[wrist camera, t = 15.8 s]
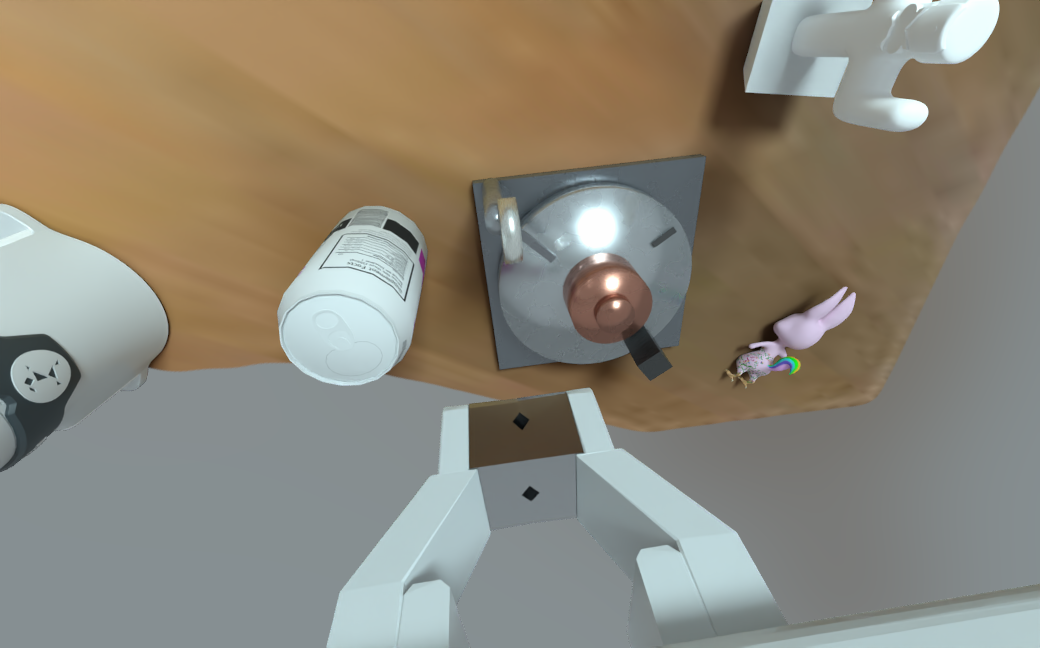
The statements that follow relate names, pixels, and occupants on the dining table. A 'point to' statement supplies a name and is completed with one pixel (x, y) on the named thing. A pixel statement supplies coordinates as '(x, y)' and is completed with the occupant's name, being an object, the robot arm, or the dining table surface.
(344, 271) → the supplement can
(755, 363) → the rabbit figure
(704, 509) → the robot arm
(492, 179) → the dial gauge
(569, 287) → the cover
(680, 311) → the plinth
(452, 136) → the dining table surface
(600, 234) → the turntable
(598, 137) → the dining table surface
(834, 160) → the dining table surface
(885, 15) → the figurine
